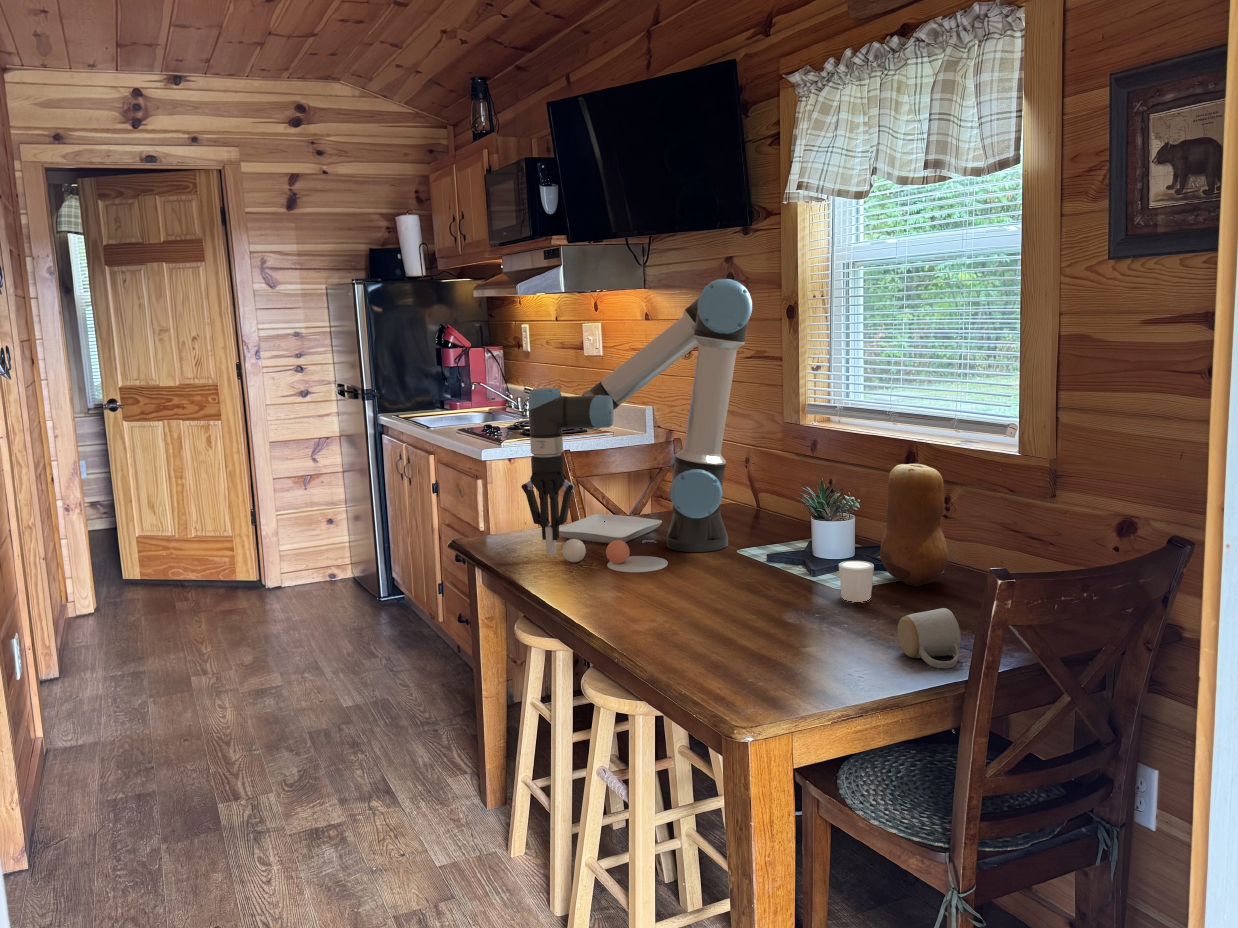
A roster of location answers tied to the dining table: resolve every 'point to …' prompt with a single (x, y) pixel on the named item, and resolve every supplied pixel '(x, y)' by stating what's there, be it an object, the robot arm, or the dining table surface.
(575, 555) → the ivory ball
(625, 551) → the coral ball
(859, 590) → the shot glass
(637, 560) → the oval plate
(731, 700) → the dining table surface
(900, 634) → the ceramic mug
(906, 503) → the butternut squash
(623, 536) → the salad plate
